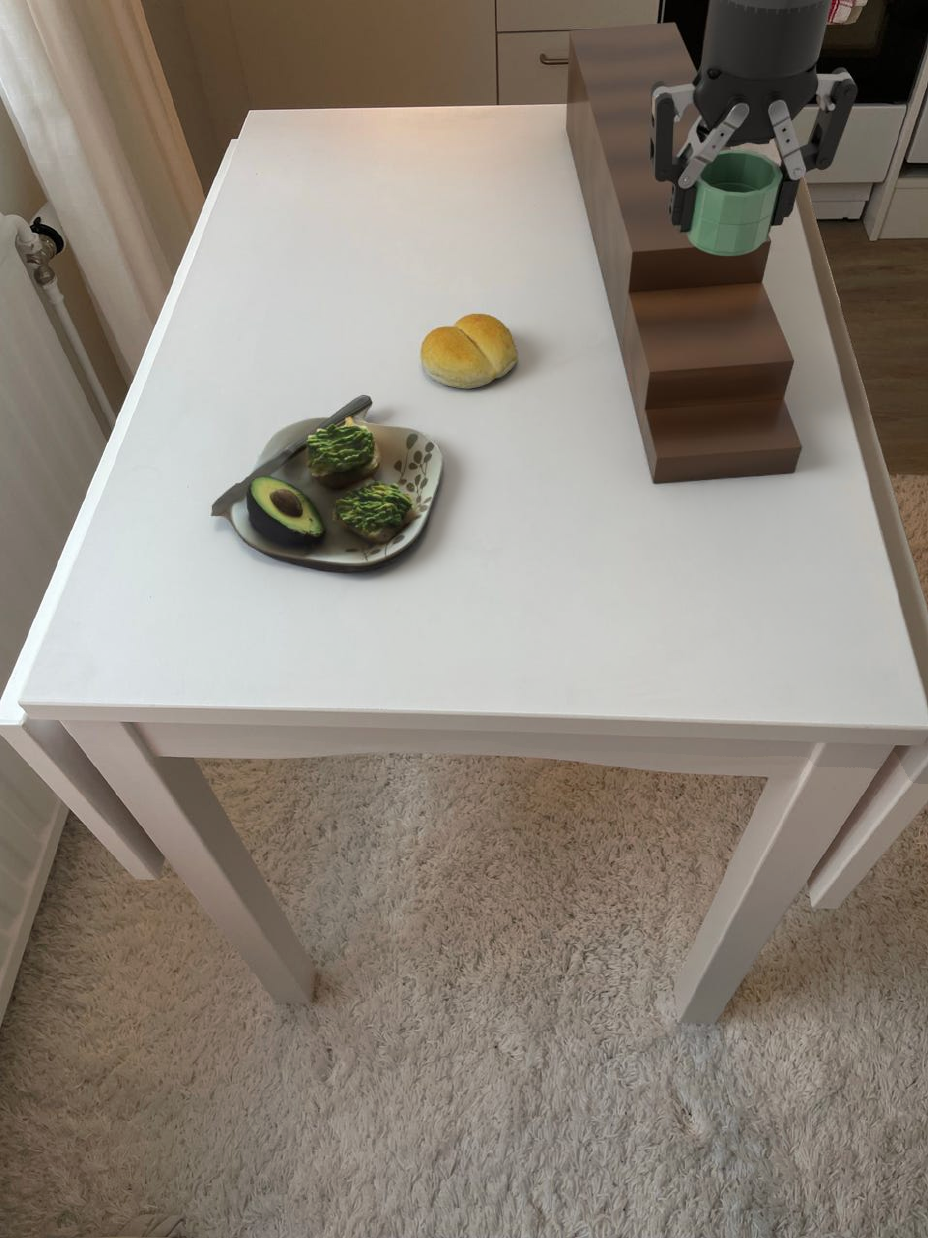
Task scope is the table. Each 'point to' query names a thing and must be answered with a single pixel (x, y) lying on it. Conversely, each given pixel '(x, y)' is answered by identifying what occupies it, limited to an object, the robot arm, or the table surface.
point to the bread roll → (469, 352)
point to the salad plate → (336, 492)
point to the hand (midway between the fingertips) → (727, 222)
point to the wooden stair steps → (674, 276)
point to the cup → (734, 203)
